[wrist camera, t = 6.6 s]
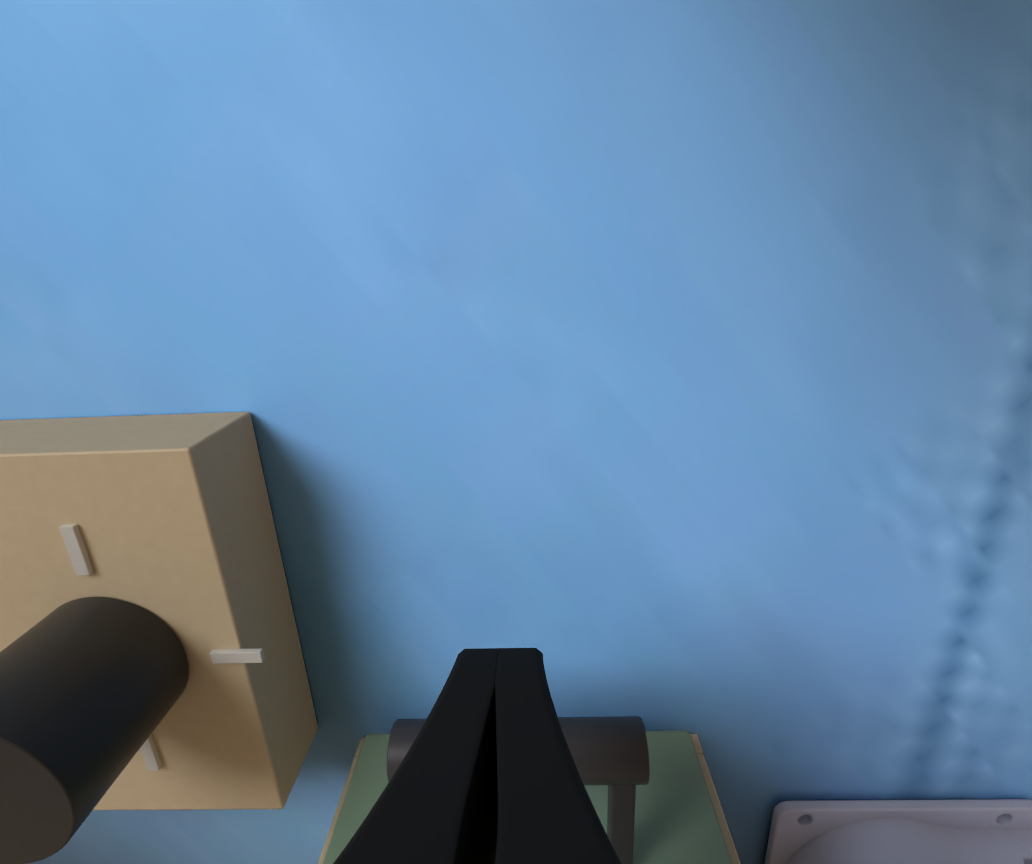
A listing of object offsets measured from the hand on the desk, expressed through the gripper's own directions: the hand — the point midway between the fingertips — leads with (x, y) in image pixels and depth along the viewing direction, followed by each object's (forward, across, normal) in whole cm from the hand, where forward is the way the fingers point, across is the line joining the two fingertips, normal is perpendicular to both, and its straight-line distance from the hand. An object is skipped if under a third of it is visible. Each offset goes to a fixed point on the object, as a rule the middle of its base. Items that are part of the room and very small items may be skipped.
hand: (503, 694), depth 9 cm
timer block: (+7, +12, +3) cm, 15 cm away
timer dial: (+4, +11, +3) cm, 12 cm away
